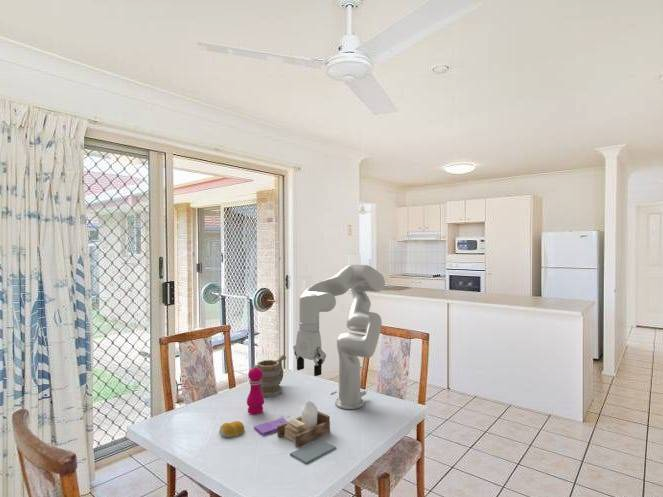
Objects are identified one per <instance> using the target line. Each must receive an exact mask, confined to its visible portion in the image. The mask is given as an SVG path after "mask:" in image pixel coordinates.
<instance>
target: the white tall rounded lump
mask: <svg viewBox="0 0 663 497" xmlns="http://www.w3.org/2000/svg"><path fill="white" fill-rule="evenodd" d="M317 411H318V407H317V405H315V403H314V402H313V401H310V400H308V401H306V402H305V404H304V406H302V409H301V416H302V423H304V424H305V428H306V430H308V429H310V428H312V427H315V426H317Z"/></svg>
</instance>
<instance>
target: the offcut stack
mask: <svg viewBox="0 0 663 497" xmlns="http://www.w3.org/2000/svg"><path fill="white" fill-rule="evenodd" d="M304 431H306V428H305V424H304V423H302V422H300V421H299V420H297V419H295V418H294V419H291V420H287V426H285V435H284V437H285V438H287V439H288V440H290V441H292V442H294V443H296V435H297V434H299V433H301V432H304Z"/></svg>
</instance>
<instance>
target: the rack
mask: <svg viewBox="0 0 663 497" xmlns="http://www.w3.org/2000/svg"><path fill="white" fill-rule="evenodd" d="M330 417H331V416H330V415H328V414H325V413H323V412H321V411H318V410H317V426H315V427H312V428H310V429H308V430H306V431H304V432H301V433H299V434H297V435H296V442H295V447H296V448H301V447H303V446H305V445H307V444H309V443H312V442H314V441H316V439H317V440H318V439H320V438H321V437H323V436H325V435H327V434H329V433H330V431H331V421H330ZM294 419H297V420H299V421H300V422H302V415H300V416H298V417H296V418H294ZM285 426H287V422H285V423H283V424H280V425H278V426H277V432H276V434H277V437H278V438H282V437H285Z"/></svg>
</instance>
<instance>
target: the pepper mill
mask: <svg viewBox="0 0 663 497" xmlns="http://www.w3.org/2000/svg"><path fill="white" fill-rule="evenodd" d="M257 367H258V366H257V364H254V365H253V366H252V368H251V369H249V371H248V378H249V384H250V390H249V394H248V396H247V399H246V405H247V406H248V408H247V413H248V415H252V416H253V415H261V414H262V413H263V412H264V407H263V405H264V403H265V397H263V395H262V392H261V389H260V384H261V383H262V382H261V378H262V376H263V372H262V370H261V369H259V368H257Z"/></svg>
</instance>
